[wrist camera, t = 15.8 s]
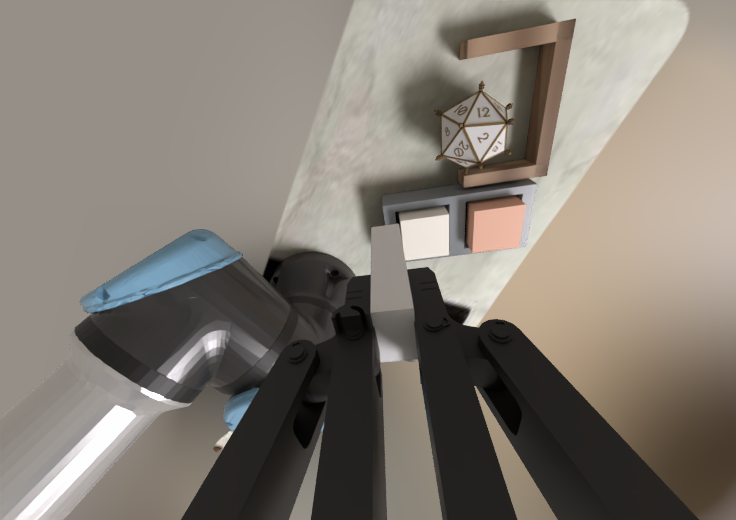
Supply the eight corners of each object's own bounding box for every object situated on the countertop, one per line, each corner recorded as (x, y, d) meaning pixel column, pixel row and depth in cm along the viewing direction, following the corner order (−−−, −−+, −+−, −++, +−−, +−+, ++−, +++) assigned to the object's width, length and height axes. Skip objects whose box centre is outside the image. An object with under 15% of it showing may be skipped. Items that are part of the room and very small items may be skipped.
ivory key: (402, 249, 41) (404, 260, 38) (398, 211, 38) (400, 221, 35) (444, 243, 40) (449, 255, 38) (443, 205, 37) (448, 214, 34)
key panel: (389, 249, 44) (390, 263, 41) (381, 195, 39) (382, 206, 36) (514, 233, 42) (526, 246, 39) (522, 174, 37) (537, 184, 34)
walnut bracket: (457, 180, 38) (463, 187, 36) (459, 43, 30) (467, 40, 27) (534, 168, 37) (546, 175, 35) (558, 23, 29) (575, 18, 26)
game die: (460, 137, 39) (472, 200, 35) (413, 111, 34) (421, 180, 31) (523, 85, 31) (546, 158, 28) (474, 44, 27) (493, 125, 24)
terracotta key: (466, 241, 40) (472, 253, 37) (467, 202, 37) (474, 211, 34) (509, 236, 39) (519, 247, 37) (515, 195, 36) (526, 204, 33)
